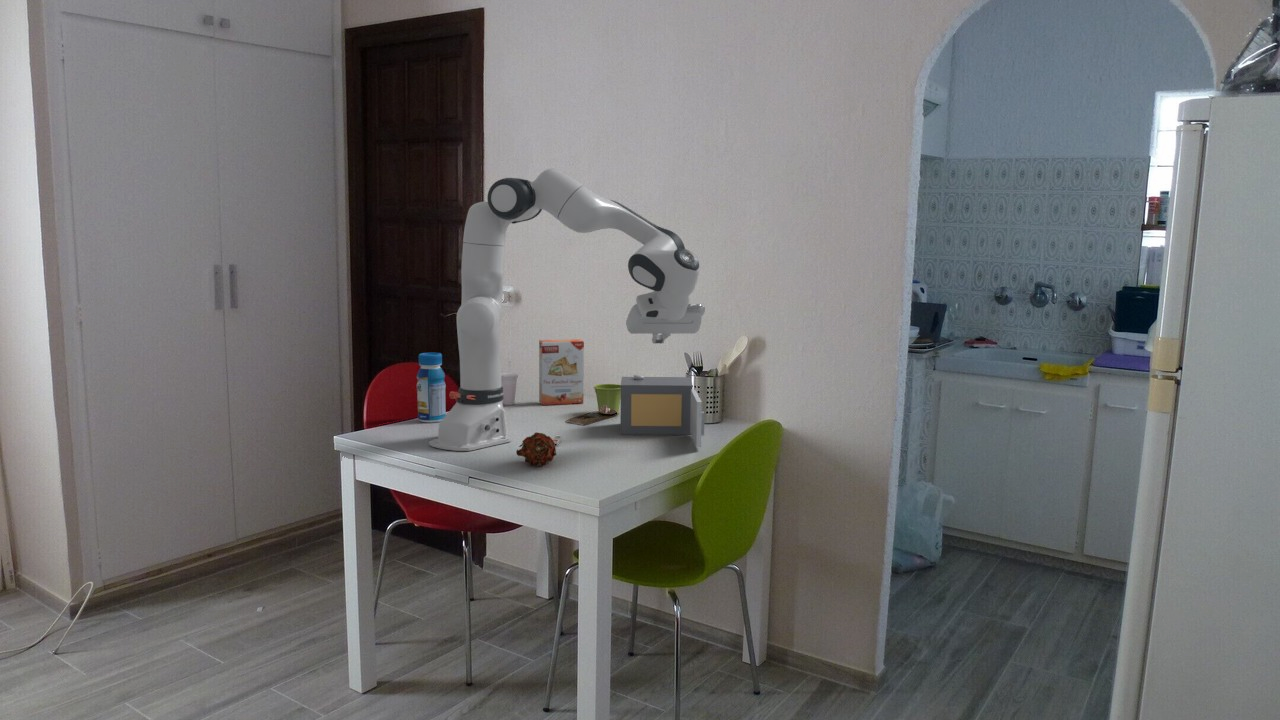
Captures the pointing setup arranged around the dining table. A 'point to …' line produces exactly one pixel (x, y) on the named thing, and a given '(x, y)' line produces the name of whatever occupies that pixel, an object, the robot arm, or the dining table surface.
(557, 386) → the cracker box
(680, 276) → the robot arm
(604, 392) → the plant pot
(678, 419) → the gray cabinet
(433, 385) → the beverage bottle
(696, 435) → the side door
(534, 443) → the dragon fruit
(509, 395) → the smoothie
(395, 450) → the dining table surface
